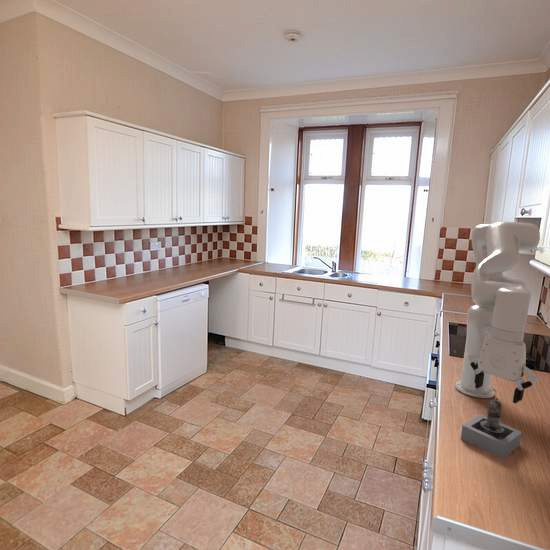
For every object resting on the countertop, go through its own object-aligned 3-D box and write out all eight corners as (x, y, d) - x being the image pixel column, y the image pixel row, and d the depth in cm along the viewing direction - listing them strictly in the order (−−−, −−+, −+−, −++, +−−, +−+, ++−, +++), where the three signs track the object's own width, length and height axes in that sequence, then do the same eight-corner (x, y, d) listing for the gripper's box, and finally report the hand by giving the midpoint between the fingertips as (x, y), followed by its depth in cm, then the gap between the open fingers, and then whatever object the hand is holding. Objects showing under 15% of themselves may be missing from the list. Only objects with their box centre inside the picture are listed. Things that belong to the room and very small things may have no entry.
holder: (478, 426, 113) (480, 414, 112) (519, 445, 104) (522, 432, 104) (460, 438, 106) (462, 425, 106) (503, 459, 98) (505, 445, 97)
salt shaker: (494, 432, 108) (500, 393, 107) (507, 445, 103) (514, 403, 101) (474, 431, 108) (480, 392, 106) (486, 444, 102) (492, 402, 100)
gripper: (467, 327, 105) (458, 385, 108) (539, 347, 92) (527, 412, 95) (479, 323, 110) (471, 378, 113) (549, 341, 96) (538, 403, 99)
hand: (496, 394), depth 104 cm, fingers open, 9 cm apart
